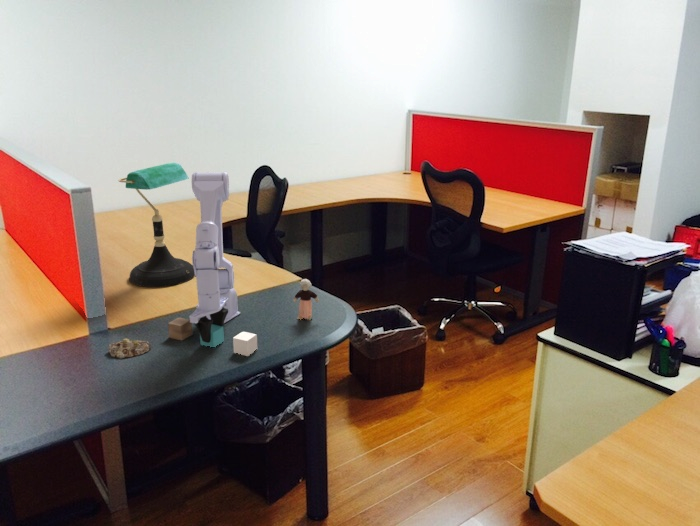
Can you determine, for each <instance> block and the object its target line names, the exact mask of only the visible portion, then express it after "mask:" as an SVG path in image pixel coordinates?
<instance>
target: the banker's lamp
mask: <svg viewBox="0 0 700 526" xmlns="http://www.w3.org/2000/svg"><path fill="white" fill-rule="evenodd" d="M188 179H189V176H188V174H187V172H186V171H185V169H184V168H183V166H182V165H181V164H179V163H176V162H168V163H164V164H159V165H154V166H151V167H146V168H143V169H137V170H134V171H131V172H129V173H128V174H127V176H126V177H123V178H120V179H118V182H119V183H125V188H126V189H133V190H135V191H136V192H137V193H138V194H139V195H140V196H141V198H142V199H143V200H144V201H145V202H146V203H147V204H148V205H149V206H150V208H151V209H153V211H154V212H153V213H154V215H153V216H152V218H151V222H152V230H153V238H154V240H155V242H154V246H153V250H152V252H151V255H150V256H149V258H148V260H145V261H142V262H140V263H139V264H137V265H136V266H134V267H133V268H132V269H131V271H130V273H129V281H130V283H132V284H134V285H136V286H138V287H144V288H145V287H146V288H160V287H161V288H163V287H171V286H176V285H180V284H183V283H186V282H188V281H190V280H192V279H193V278H194V277H195V272H194V268H193V263H190V262H188V261H186V260H184V259H182V258H180V257H179V258H178V257H175V256H173V255H172V253H171V252H170V251H169V249H168V247H167V246H166V242H165V241H164V239H165V235H164V234H165V233H164V224H163V221H164V219H163V216H162V215H160V212H159V211H160V210H159V209H157V208H156V207H155V206H154V205H152V203H151V202H150V201H149V200H148V198H147V197H146V196H145V195H144V194H143V193H142V192H141V191H140V190H146V191H147V190H154V189H159V188H162V187H164V186H168V185H171V184H175V183H178V182H182V181H185V180H188Z"/></svg>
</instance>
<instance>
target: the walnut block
mask: <svg viewBox="0 0 700 526" xmlns="http://www.w3.org/2000/svg"><path fill="white" fill-rule="evenodd" d="M167 327H168V337H169V338H170V339H174V340H178V341H183V340H185V339H187V338H189V337H190V336H193V323H190V318H183V317H176V318H174V319H173V320H171V321H169V322H167Z"/></svg>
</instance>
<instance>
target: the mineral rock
mask: <svg viewBox="0 0 700 526" xmlns="http://www.w3.org/2000/svg"><path fill="white" fill-rule="evenodd" d="M108 346H109V348H108V352H109V354H110V356H111V357H113V358H118V359H125V358H132V357H135V356H139V355H140V356H141V355H143V354H145V353H147V352H149V351H151V349H152V347H151V344H150V342H149V341H147V340H131V339H129V338H128V337H127V338H123V339H122V340H121V341H118V342H113V343H110V344H109V345H108Z"/></svg>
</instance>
